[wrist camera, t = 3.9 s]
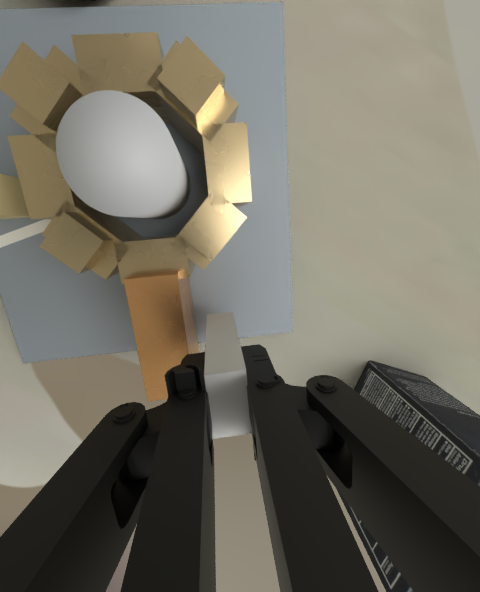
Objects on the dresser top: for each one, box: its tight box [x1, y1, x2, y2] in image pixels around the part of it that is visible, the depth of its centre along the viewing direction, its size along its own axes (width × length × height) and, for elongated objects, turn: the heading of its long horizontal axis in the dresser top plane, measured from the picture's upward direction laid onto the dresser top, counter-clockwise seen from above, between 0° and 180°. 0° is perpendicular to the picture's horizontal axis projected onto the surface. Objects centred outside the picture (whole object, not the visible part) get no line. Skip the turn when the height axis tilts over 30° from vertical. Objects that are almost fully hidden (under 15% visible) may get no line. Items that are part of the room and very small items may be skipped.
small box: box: [336, 361, 480, 592], centre depth 19 cm, size 11×6×10 cm, turn 161°
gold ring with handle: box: [0, 32, 252, 401], centre depth 14 cm, size 16×10×5 cm, turn 4°
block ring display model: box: [0, 2, 293, 363], centre depth 14 cm, size 19×18×8 cm
